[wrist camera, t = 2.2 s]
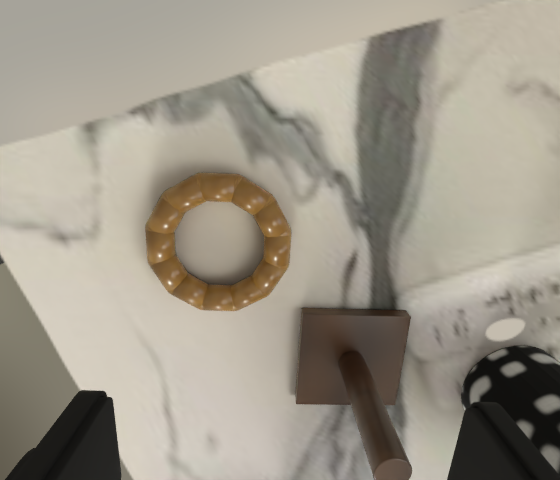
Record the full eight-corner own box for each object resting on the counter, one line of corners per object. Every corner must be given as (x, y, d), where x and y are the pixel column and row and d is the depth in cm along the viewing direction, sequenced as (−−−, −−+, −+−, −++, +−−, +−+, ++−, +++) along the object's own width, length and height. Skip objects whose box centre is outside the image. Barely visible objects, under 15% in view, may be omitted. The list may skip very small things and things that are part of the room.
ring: (155, 301, 25) (147, 313, 23) (146, 168, 22) (136, 171, 21) (285, 304, 26) (287, 316, 24) (293, 175, 23) (295, 178, 21)
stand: (295, 395, 28) (309, 529, 18) (301, 307, 26) (321, 409, 16) (391, 396, 28) (453, 528, 19) (405, 310, 26) (486, 411, 16)
